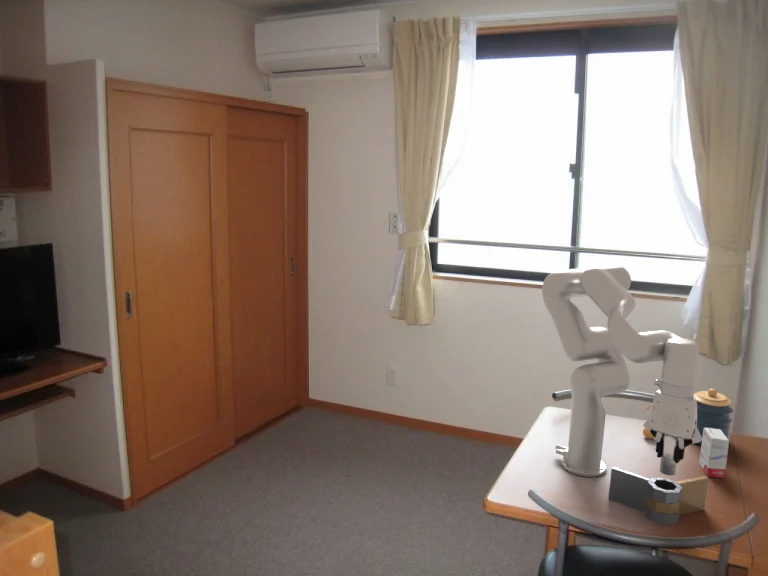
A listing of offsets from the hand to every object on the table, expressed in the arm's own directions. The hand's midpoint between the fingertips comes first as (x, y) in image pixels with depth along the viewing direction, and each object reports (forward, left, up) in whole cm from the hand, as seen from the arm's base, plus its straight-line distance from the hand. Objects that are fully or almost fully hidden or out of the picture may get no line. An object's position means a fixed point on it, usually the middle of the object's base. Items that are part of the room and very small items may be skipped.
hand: (669, 457), depth 158 cm
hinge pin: (0, 0, -4) cm, 4 cm away
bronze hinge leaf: (+2, +4, -16) cm, 17 cm away
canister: (-4, +58, -17) cm, 61 cm away
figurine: (-18, +47, -17) cm, 53 cm away
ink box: (+3, +36, -17) cm, 40 cm away
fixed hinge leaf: (-5, 0, -16) cm, 17 cm away
